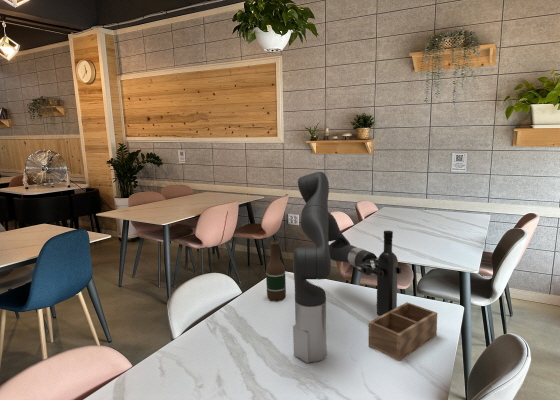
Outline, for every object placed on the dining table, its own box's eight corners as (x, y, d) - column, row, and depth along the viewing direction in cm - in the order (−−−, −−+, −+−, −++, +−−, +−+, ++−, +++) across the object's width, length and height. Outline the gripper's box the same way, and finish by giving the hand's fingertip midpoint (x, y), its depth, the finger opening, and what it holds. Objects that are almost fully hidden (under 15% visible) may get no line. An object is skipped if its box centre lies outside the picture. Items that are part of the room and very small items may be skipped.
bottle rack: (399, 361, 112) (399, 335, 110) (368, 346, 120) (368, 322, 119) (436, 335, 125) (437, 312, 123) (406, 323, 133) (406, 302, 132)
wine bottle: (382, 309, 139) (383, 228, 134) (397, 313, 135) (399, 230, 131) (375, 315, 135) (376, 231, 130) (390, 319, 131) (392, 234, 126)
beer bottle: (289, 297, 158) (288, 240, 154) (276, 303, 152) (274, 245, 148) (276, 292, 163) (274, 237, 159) (263, 298, 158) (260, 242, 154)
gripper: (346, 252, 142) (374, 265, 127) (377, 247, 148) (408, 259, 133) (346, 272, 143) (374, 287, 128) (377, 265, 149) (407, 279, 134)
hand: (391, 272), depth 131 cm, fingers closed on wine bottle, 7 cm apart
